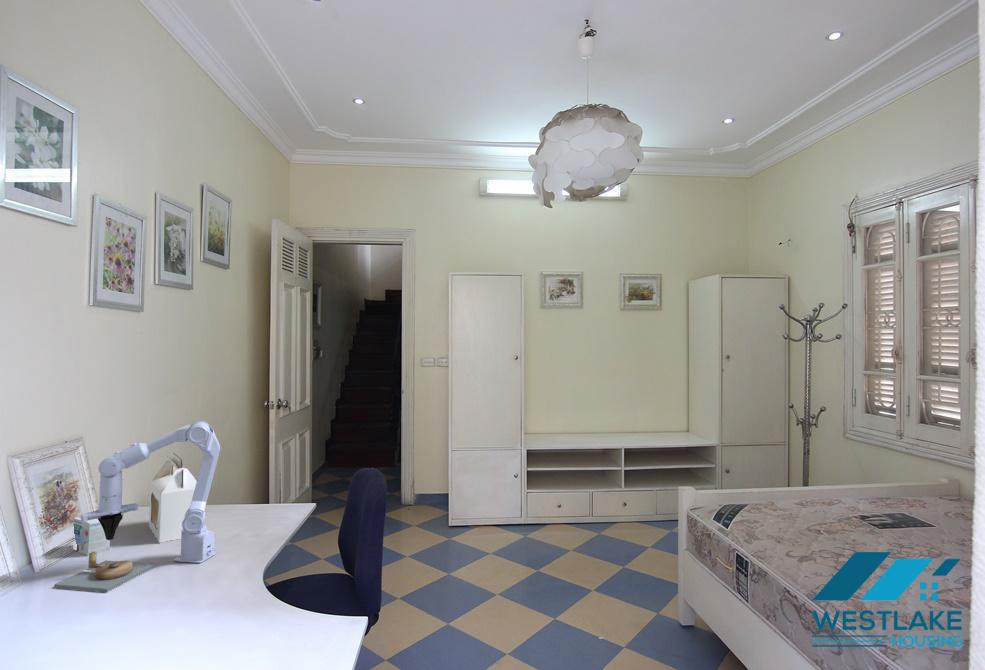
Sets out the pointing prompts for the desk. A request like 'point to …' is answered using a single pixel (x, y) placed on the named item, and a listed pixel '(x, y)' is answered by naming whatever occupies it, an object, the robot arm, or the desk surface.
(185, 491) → the gable box
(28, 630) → the desk surface
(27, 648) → the desk surface
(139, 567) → the base plate
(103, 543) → the light bulb box
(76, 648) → the desk surface
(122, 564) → the dial
